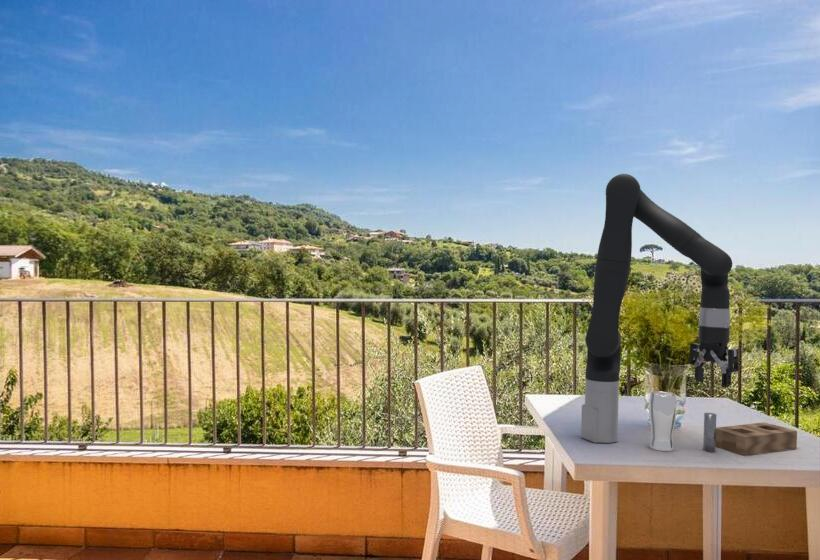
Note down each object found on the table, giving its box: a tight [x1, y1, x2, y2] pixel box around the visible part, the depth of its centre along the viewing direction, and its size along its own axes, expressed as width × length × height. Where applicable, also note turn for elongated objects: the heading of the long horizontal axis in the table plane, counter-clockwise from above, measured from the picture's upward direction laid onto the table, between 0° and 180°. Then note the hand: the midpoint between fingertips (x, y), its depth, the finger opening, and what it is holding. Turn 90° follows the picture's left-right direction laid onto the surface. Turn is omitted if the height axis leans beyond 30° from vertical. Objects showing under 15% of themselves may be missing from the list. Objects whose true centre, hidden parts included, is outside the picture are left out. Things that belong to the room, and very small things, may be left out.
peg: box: [702, 412, 717, 453], centre depth 171 cm, size 3×3×10 cm
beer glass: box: [648, 390, 678, 452], centre depth 172 cm, size 7×7×15 cm
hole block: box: [716, 421, 798, 457], centre depth 175 cm, size 20×10×5 cm, turn 113°
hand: (712, 384), depth 171 cm, fingers open, 8 cm apart
